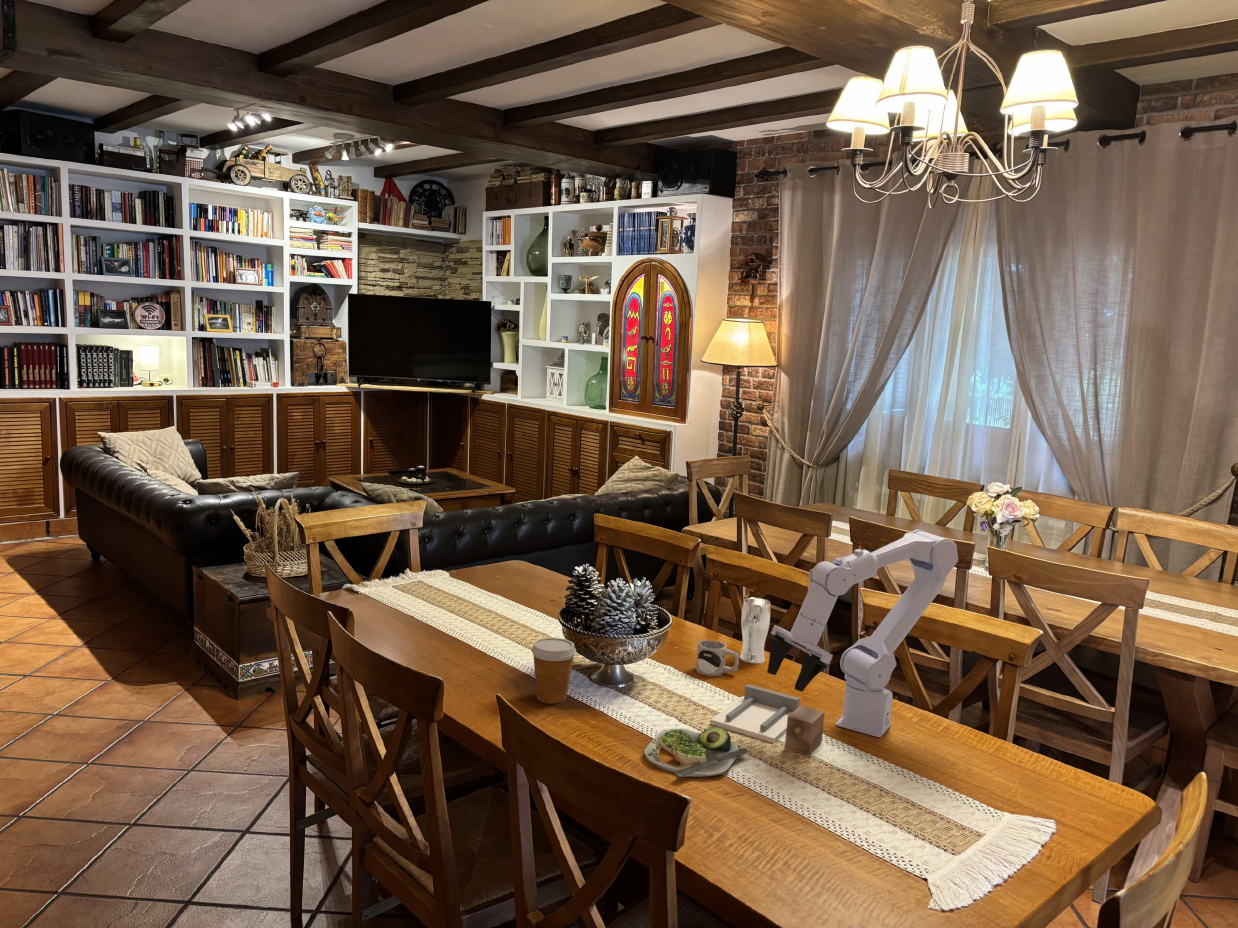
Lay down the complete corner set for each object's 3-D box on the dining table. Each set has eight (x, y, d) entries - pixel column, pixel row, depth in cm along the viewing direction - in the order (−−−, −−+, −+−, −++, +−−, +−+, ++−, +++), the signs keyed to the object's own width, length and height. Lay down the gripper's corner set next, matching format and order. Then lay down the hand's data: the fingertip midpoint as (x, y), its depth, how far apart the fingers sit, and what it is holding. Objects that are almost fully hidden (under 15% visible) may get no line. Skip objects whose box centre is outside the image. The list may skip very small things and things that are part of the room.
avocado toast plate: (721, 796, 158) (723, 771, 158) (627, 771, 165) (628, 747, 165) (752, 753, 176) (754, 730, 175) (666, 732, 183) (667, 710, 182)
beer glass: (734, 660, 226) (738, 601, 224) (743, 652, 232) (748, 595, 230) (761, 666, 223) (766, 607, 220) (770, 658, 229) (775, 600, 227)
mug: (693, 673, 215) (695, 646, 214) (699, 664, 222) (701, 638, 221) (734, 680, 212) (736, 653, 211) (740, 671, 218) (742, 644, 218)
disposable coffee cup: (522, 692, 198) (525, 639, 196) (562, 687, 202) (565, 635, 200) (539, 709, 189) (542, 654, 188) (580, 703, 194) (583, 649, 192)
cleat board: (802, 717, 193) (804, 699, 193) (773, 743, 180) (775, 723, 179) (742, 700, 201) (743, 682, 200) (710, 723, 187) (711, 705, 186)
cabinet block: (821, 742, 181) (824, 711, 181) (807, 756, 175) (810, 724, 174) (797, 735, 184) (800, 705, 183) (783, 749, 177) (786, 717, 177)
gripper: (774, 601, 186) (747, 662, 185) (827, 629, 174) (799, 694, 174) (794, 609, 190) (768, 669, 190) (848, 636, 179) (820, 700, 178)
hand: (784, 681), depth 182 cm, fingers open, 7 cm apart
